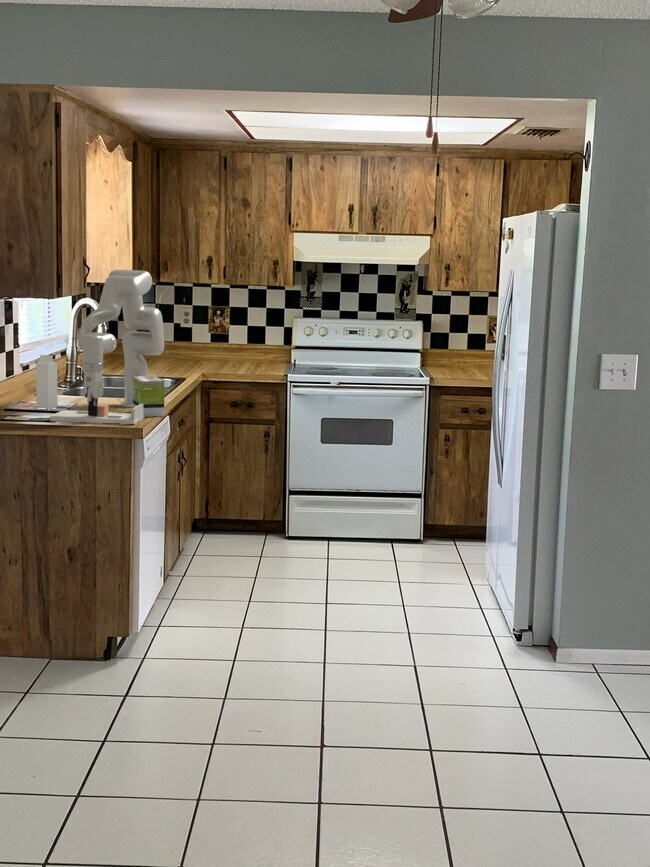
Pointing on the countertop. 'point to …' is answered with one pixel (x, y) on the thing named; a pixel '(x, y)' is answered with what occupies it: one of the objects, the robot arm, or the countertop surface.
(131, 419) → the board
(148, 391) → the tea box
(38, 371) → the milk
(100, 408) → the block
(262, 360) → the countertop surface
